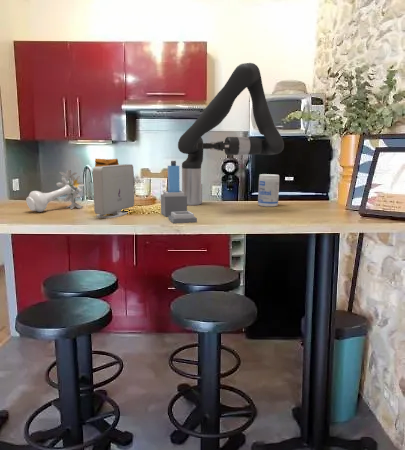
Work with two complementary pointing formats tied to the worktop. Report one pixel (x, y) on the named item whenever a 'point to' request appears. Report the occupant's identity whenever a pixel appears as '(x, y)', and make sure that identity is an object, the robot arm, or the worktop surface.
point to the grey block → (173, 202)
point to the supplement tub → (268, 190)
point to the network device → (113, 189)
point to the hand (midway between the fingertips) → (199, 145)
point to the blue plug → (173, 178)
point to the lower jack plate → (182, 217)
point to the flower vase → (57, 193)
